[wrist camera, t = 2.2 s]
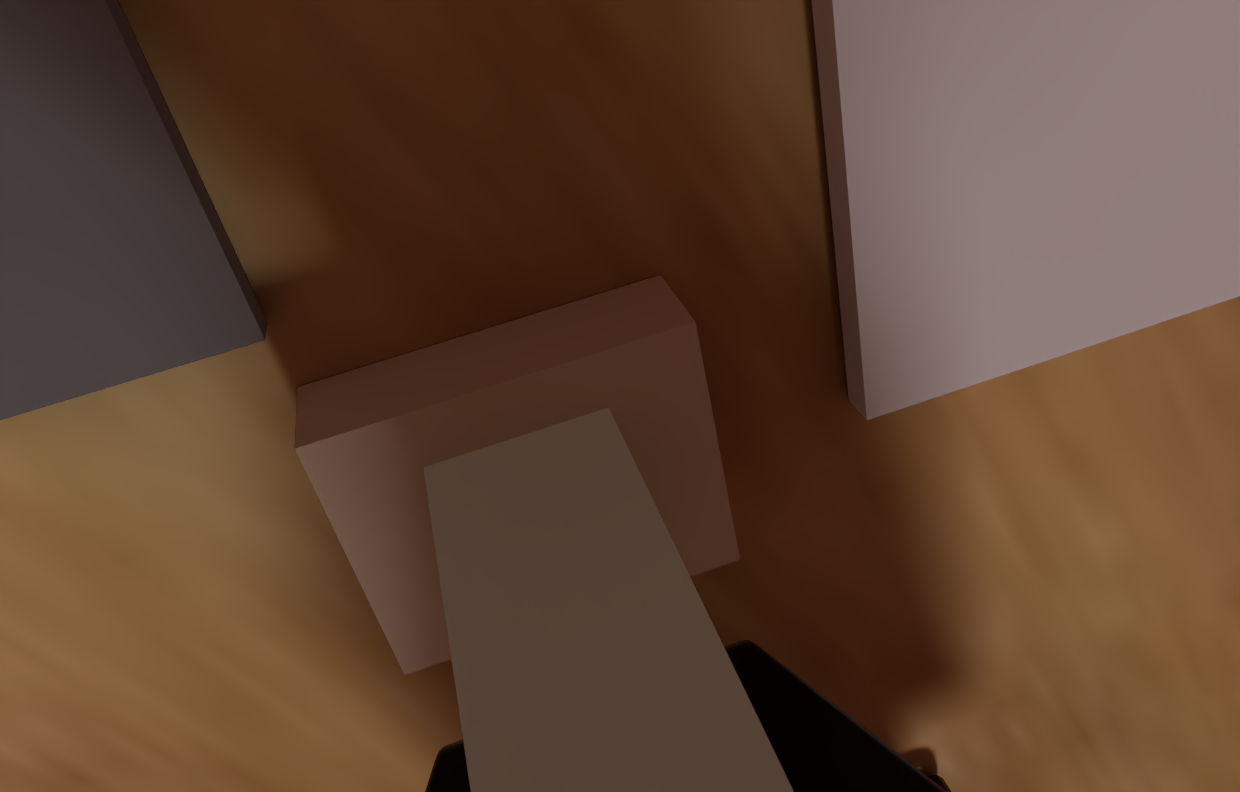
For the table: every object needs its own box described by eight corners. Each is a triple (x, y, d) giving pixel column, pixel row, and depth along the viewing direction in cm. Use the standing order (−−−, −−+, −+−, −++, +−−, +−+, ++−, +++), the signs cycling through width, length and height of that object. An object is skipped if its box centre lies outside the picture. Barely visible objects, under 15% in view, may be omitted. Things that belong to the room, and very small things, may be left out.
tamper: (707, 499, 15) (1215, 1405, 6) (398, 603, 15) (498, 1743, 6) (660, 274, 13) (1329, 1174, 4) (297, 387, 13) (223, 1671, 4)
